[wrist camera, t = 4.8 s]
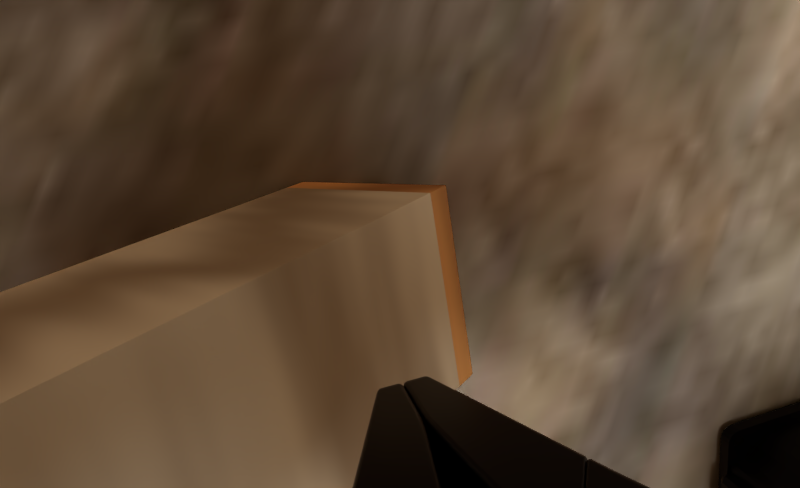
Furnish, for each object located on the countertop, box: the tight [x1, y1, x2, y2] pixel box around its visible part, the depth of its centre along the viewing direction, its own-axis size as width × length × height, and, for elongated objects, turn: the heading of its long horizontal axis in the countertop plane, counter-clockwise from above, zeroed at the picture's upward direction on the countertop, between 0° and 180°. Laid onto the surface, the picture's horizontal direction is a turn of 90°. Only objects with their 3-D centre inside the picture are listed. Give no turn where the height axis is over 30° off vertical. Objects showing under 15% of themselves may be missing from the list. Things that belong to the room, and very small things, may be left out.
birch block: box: [0, 182, 472, 488], centre depth 11 cm, size 5×5×10 cm
